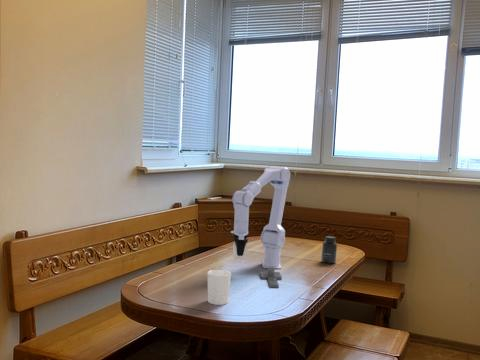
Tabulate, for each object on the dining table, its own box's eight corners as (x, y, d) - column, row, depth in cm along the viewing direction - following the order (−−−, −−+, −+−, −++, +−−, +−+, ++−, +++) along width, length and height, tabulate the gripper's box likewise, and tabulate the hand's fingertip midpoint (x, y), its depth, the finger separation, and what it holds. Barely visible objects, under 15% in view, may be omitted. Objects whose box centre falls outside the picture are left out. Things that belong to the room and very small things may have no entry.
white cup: (229, 298, 170) (230, 270, 169) (229, 306, 162) (231, 276, 161) (206, 297, 170) (207, 269, 169) (205, 305, 162) (207, 275, 161)
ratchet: (260, 274, 204) (260, 264, 204) (279, 274, 205) (279, 264, 204) (263, 287, 185) (264, 276, 185) (284, 287, 186) (285, 276, 185)
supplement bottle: (325, 264, 226) (326, 238, 225) (318, 260, 233) (320, 235, 232) (338, 263, 228) (340, 238, 227) (332, 260, 235) (333, 235, 234)
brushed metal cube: (233, 256, 202) (233, 241, 202) (245, 256, 202) (246, 242, 202) (233, 259, 197) (234, 244, 196) (246, 259, 197) (247, 244, 197)
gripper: (231, 217, 205) (229, 249, 206) (231, 223, 191) (230, 257, 192) (248, 218, 206) (246, 250, 207) (249, 224, 191) (248, 258, 192)
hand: (239, 254), depth 199 cm, fingers closed on brushed metal cube, 5 cm apart
